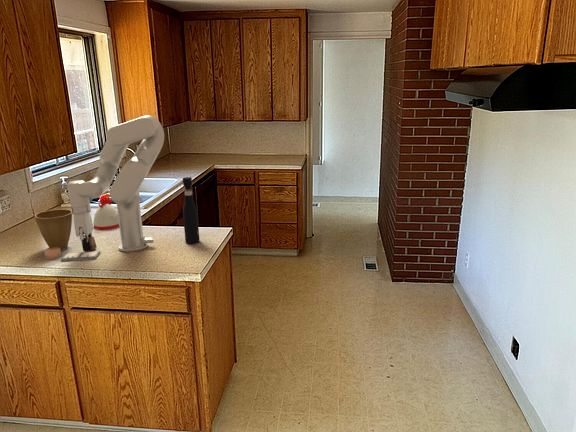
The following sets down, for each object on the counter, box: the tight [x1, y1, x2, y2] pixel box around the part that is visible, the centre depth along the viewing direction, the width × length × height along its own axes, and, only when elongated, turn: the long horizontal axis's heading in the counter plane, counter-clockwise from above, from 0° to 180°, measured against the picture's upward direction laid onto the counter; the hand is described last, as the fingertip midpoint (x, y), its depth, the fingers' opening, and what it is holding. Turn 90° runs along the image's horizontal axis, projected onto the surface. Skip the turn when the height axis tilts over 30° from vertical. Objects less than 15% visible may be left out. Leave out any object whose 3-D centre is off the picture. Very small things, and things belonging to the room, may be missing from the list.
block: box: [84, 236, 97, 252], centre depth 201 cm, size 4×4×5 cm
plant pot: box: [34, 208, 73, 250], centre depth 204 cm, size 15×15×16 cm
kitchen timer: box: [92, 196, 119, 231], centre depth 235 cm, size 14×14×15 cm
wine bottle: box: [182, 176, 200, 245], centre depth 204 cm, size 6×6×30 cm
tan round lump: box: [44, 247, 62, 261], centre depth 194 cm, size 6×6×4 cm
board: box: [60, 250, 101, 262], centre depth 193 cm, size 14×7×1 cm, turn 98°
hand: (88, 248), depth 201 cm, fingers closed on block, 3 cm apart
